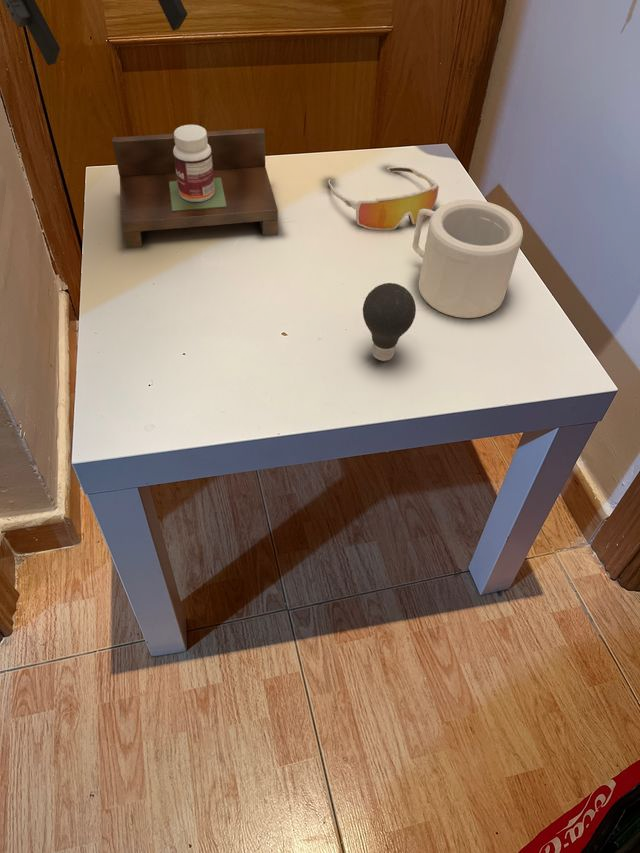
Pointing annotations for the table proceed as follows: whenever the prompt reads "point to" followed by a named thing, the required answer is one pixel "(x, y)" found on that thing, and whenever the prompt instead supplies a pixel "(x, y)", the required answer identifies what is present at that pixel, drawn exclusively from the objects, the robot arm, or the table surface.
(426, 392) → the table surface
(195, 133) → the pill bottle
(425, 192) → the sunglasses
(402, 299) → the light bulb
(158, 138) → the shelf
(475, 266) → the mug
